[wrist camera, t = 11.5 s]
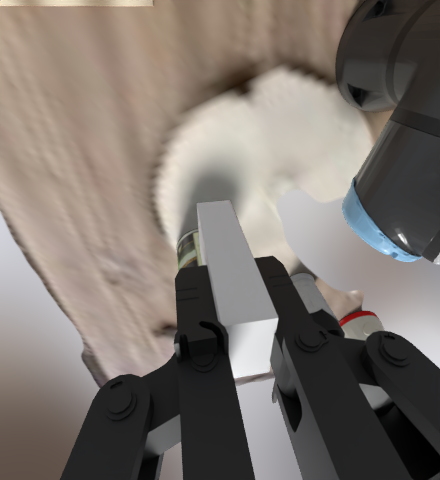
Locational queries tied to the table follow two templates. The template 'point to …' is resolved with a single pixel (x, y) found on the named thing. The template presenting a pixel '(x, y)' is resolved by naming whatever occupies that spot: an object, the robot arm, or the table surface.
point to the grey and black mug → (316, 304)
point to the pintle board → (76, 2)
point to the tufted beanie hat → (360, 325)
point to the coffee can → (189, 250)
